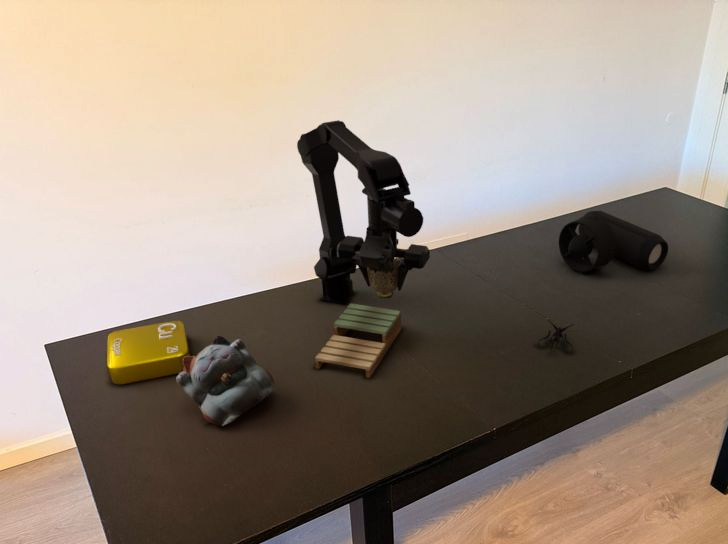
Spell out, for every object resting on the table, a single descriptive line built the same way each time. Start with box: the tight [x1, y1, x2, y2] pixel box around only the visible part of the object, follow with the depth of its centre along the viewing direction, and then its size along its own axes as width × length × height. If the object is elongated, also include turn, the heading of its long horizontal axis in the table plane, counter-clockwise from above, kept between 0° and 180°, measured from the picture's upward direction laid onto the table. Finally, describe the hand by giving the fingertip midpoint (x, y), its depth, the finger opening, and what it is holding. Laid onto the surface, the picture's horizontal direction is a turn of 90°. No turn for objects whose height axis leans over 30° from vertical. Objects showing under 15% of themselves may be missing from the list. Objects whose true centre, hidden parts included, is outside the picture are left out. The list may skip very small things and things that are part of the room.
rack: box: [314, 303, 402, 379], centre depth 141 cm, size 12×20×5 cm, turn 165°
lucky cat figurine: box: [175, 335, 275, 427], centre depth 122 cm, size 15×12×14 cm
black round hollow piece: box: [558, 214, 616, 274], centre depth 173 cm, size 14×14×10 cm
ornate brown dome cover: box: [367, 258, 401, 300], centre depth 140 cm, size 8×7×8 cm
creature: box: [536, 319, 575, 354], centre depth 143 cm, size 8×5×8 cm
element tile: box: [106, 320, 191, 385], centre depth 135 cm, size 15×15×5 cm
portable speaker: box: [578, 210, 669, 271], centre depth 182 cm, size 26×10×10 cm, turn 36°
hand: (384, 287), depth 141 cm, fingers closed on ornate brown dome cover, 6 cm apart
